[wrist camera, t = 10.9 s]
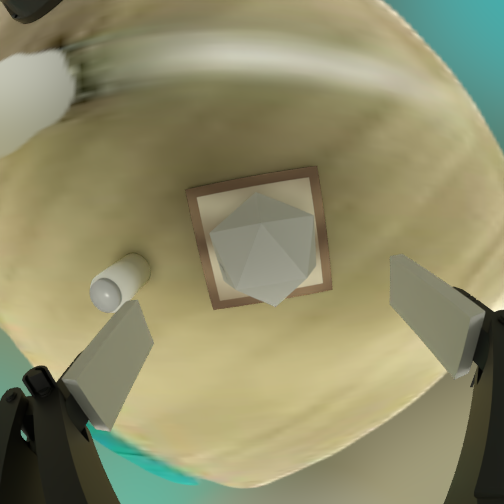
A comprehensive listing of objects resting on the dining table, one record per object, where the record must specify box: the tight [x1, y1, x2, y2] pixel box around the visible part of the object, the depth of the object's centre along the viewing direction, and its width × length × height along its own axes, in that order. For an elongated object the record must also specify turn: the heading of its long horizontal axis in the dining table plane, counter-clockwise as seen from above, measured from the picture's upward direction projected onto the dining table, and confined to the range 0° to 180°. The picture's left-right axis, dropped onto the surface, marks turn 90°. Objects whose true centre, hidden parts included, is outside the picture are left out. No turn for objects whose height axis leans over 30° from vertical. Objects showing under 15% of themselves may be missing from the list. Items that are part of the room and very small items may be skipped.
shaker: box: [90, 253, 150, 313], centre depth 27 cm, size 4×4×8 cm
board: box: [185, 166, 332, 310], centre depth 29 cm, size 13×13×2 cm
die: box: [209, 192, 316, 307], centre depth 24 cm, size 8×9×10 cm
